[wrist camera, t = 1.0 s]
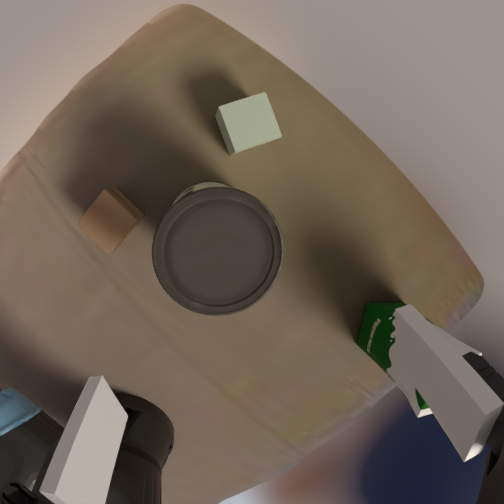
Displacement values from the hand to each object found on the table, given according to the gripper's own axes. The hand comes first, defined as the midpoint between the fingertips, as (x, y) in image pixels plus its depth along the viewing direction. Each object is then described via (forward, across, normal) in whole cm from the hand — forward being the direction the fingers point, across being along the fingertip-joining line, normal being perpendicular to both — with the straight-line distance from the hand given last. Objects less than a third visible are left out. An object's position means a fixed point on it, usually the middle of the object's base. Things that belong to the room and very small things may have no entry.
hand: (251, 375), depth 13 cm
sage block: (+28, -3, -10) cm, 30 cm away
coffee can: (+27, +3, 0) cm, 27 cm away
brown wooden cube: (+26, +14, -5) cm, 30 cm away
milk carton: (+28, -18, +21) cm, 39 cm away
